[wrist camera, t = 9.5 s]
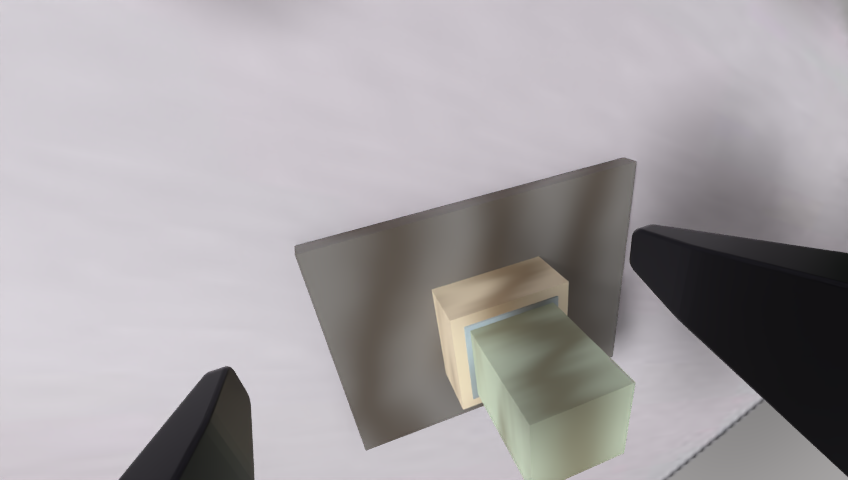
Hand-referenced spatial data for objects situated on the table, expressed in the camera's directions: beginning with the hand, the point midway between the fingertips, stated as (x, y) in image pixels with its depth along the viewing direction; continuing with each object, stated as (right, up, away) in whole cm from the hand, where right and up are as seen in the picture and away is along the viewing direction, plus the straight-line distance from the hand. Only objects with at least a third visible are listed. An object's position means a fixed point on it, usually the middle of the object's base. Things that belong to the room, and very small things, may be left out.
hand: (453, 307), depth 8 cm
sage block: (+5, -5, +14) cm, 16 cm away
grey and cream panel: (+3, -3, +18) cm, 18 cm away
